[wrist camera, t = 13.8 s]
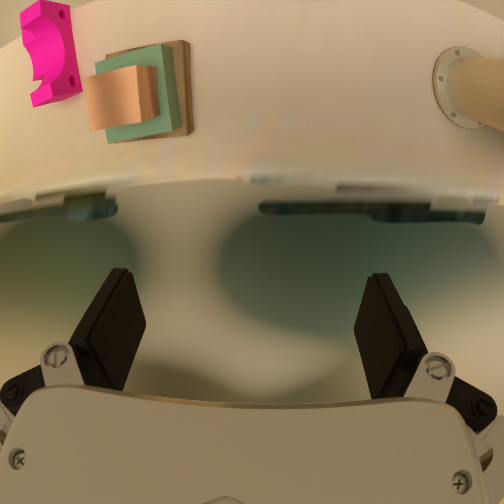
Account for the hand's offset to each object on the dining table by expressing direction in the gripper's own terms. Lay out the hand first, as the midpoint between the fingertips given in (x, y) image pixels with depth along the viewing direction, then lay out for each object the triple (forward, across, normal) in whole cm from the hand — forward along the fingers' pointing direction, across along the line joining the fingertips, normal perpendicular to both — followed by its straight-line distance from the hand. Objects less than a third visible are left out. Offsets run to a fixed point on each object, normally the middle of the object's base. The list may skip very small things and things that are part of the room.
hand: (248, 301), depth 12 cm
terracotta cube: (+23, +13, -8) cm, 27 cm away
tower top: (+27, +13, -8) cm, 31 cm away
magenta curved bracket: (+31, +29, -16) cm, 45 cm away
